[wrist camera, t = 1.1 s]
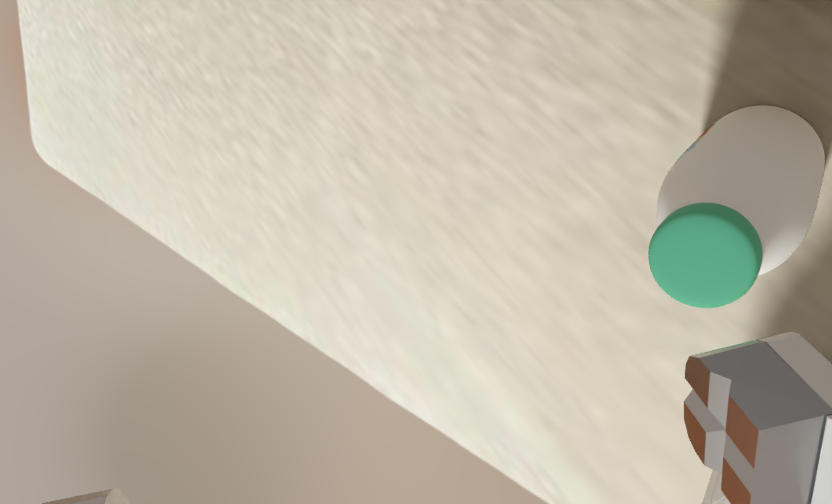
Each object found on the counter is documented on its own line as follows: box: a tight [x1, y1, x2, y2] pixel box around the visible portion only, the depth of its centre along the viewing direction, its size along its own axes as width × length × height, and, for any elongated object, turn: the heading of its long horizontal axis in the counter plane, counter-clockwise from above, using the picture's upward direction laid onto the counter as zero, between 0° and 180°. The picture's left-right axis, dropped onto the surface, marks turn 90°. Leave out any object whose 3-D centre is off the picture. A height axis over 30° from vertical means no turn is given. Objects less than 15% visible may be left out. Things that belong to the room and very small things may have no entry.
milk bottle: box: [649, 105, 825, 308], centre depth 38 cm, size 8×8×20 cm
